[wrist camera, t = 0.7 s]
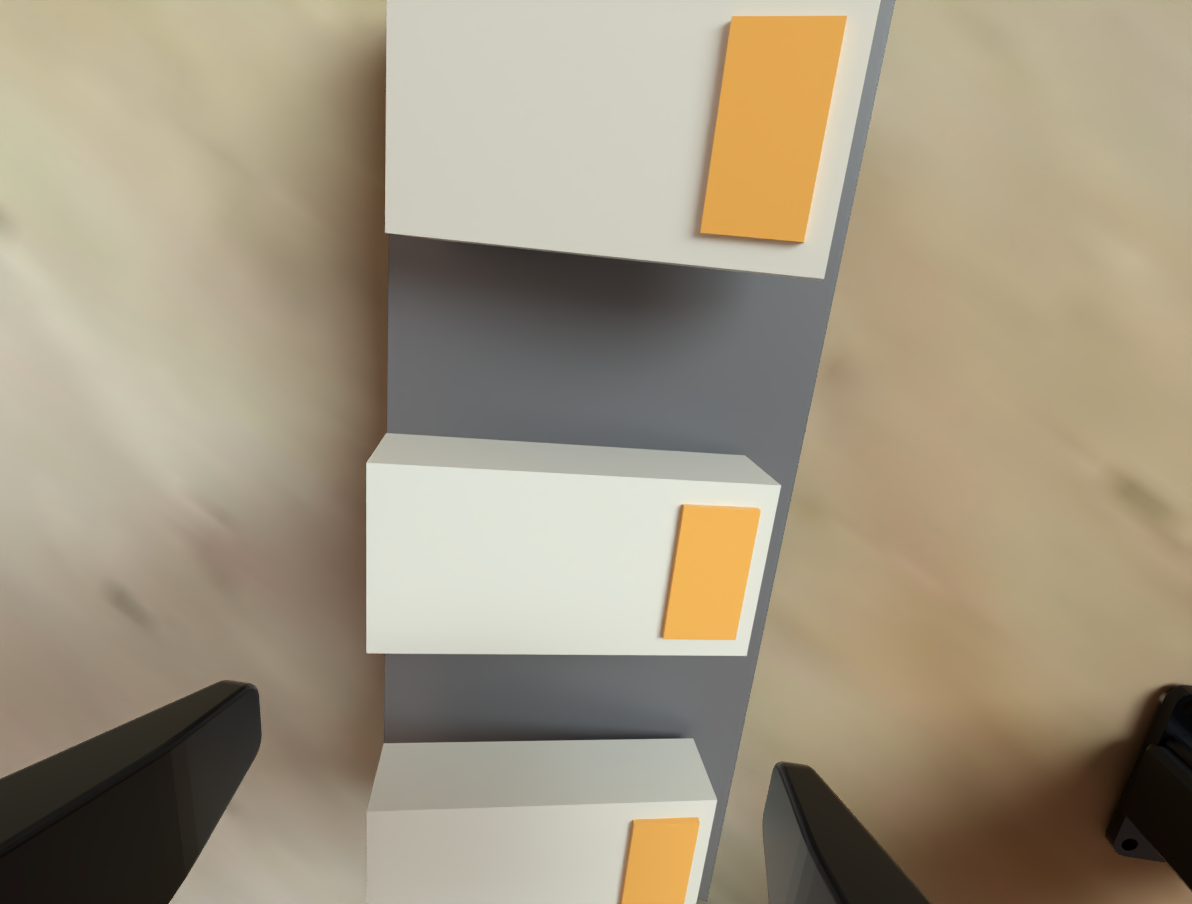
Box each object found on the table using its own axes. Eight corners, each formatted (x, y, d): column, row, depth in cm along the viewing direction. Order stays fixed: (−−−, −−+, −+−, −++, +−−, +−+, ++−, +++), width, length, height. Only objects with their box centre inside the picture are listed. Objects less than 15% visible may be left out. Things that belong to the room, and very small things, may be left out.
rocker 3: (693, 738, 17) (719, 805, 15) (672, 852, 18) (693, 929, 16) (383, 743, 15) (365, 817, 13) (382, 866, 16) (365, 952, 14)
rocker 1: (870, 33, 10) (887, -28, 8) (820, 281, 11) (824, 278, 10) (448, 32, 12) (381, -17, 10) (441, 240, 14) (380, 232, 12)
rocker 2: (744, 455, 14) (784, 488, 12) (716, 606, 16) (749, 660, 13) (386, 433, 13) (364, 465, 11) (384, 600, 14) (365, 657, 12)
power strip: (900, -271, 14) (995, -478, 10) (697, 793, 22) (706, 901, 19) (463, -298, 14) (395, -505, 11) (428, 752, 23) (383, 847, 19)
